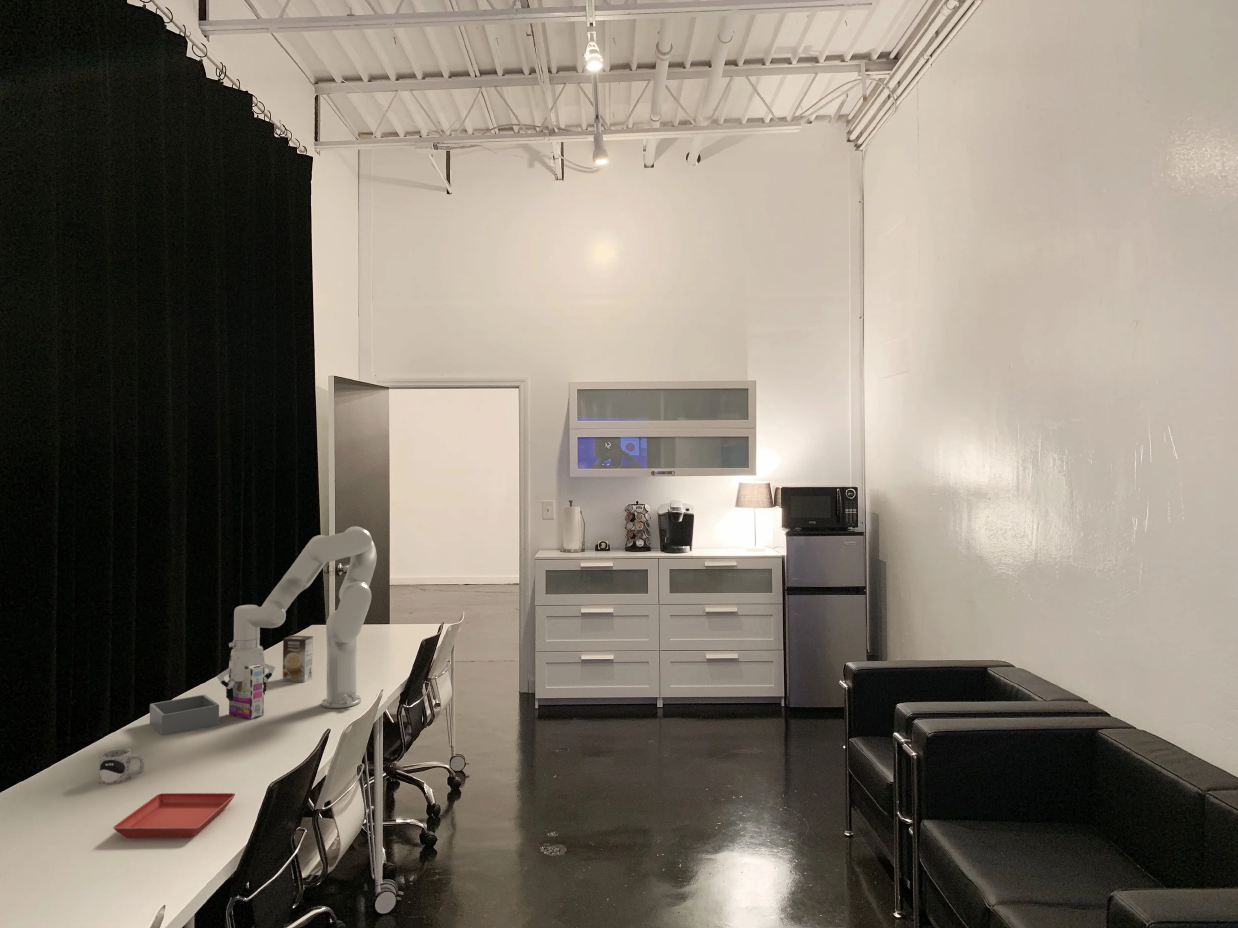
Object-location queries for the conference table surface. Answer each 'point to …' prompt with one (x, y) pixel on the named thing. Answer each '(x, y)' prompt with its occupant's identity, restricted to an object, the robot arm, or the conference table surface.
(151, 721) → the bin
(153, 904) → the conference table surface
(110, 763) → the mug
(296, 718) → the conference table surface
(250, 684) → the candy bar box
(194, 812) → the plant saucer
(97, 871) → the conference table surface
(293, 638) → the coffee box
